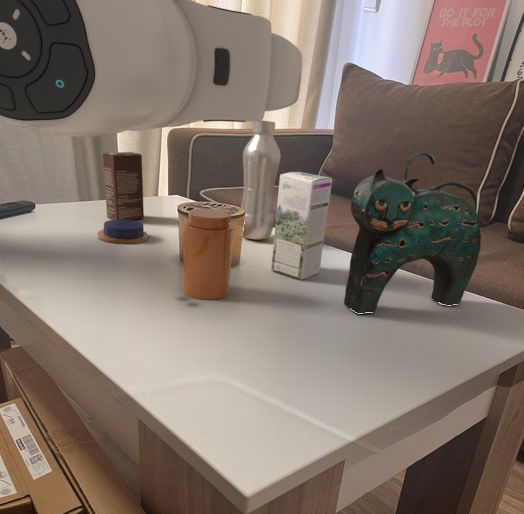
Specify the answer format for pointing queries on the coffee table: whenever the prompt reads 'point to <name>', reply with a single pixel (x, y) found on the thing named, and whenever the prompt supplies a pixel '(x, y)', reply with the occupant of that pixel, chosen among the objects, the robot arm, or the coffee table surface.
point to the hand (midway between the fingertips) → (201, 70)
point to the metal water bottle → (260, 180)
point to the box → (123, 185)
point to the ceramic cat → (410, 237)
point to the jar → (207, 254)
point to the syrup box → (300, 224)
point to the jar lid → (123, 229)
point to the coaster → (121, 241)
